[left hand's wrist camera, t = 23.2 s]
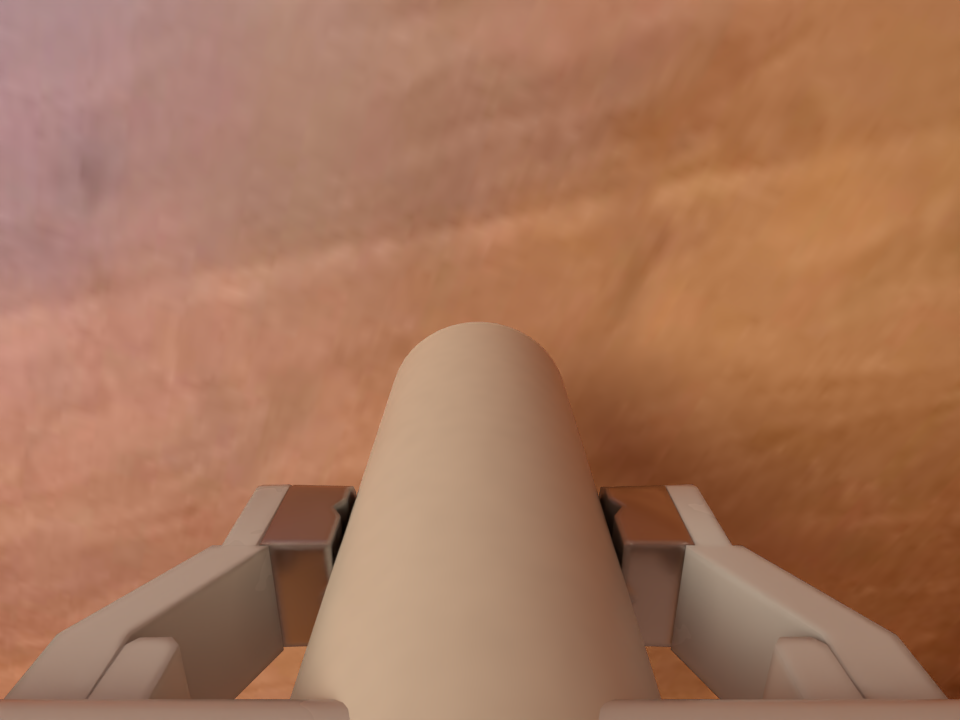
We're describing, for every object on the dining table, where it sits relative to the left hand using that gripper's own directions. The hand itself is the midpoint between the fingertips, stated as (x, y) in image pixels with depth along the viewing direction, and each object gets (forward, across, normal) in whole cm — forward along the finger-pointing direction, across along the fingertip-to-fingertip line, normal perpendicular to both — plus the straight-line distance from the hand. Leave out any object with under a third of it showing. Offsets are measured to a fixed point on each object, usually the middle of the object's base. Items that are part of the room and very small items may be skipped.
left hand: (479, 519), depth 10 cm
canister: (+4, 0, 0) cm, 4 cm away
